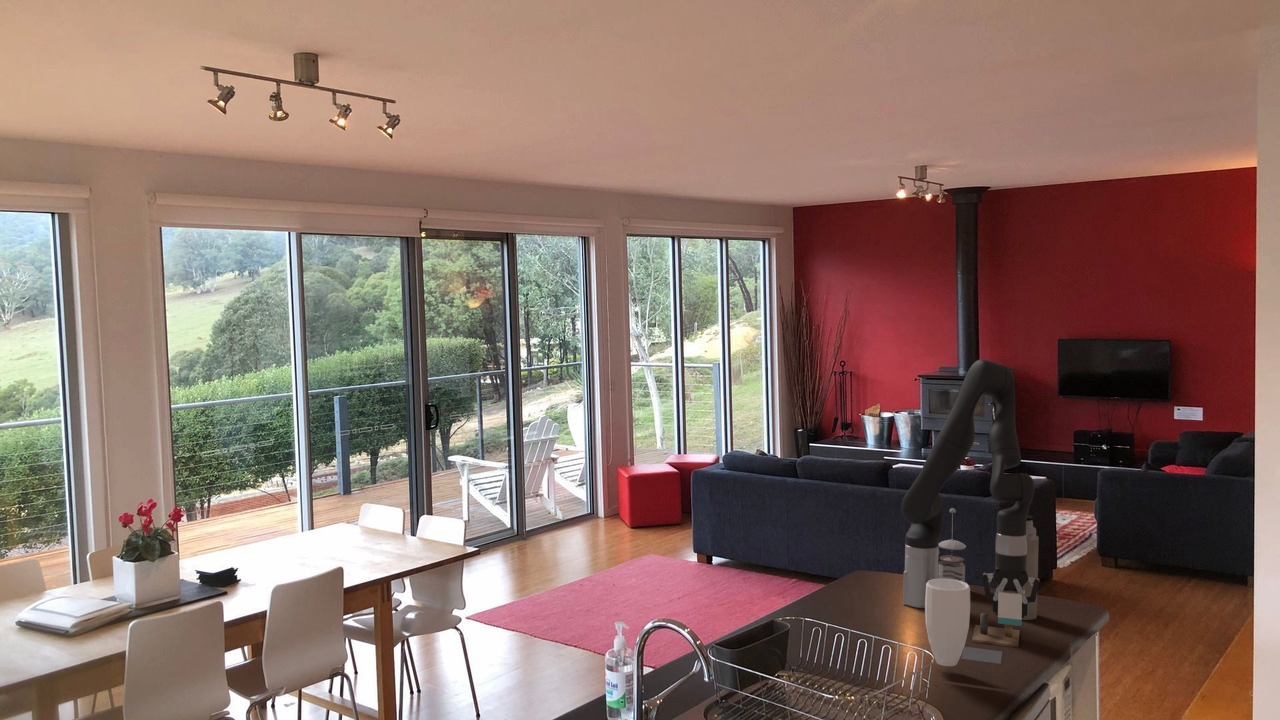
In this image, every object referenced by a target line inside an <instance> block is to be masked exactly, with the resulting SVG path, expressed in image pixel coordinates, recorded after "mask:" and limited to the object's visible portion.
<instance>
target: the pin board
mask: <svg viewBox="0 0 1280 720" xmlns="http://www.w3.org/2000/svg"><path fill="white" fill-rule="evenodd" d="M988 619H989V614H988V613H985V612H983V613H982V612H981V613H980V621H979V624H975V626H974V628H973V633H972V639H971V642H972V643H978V644H979V643H980V644H986V645H992V646H993V645H994V646H995V645H996V646H1002V647H1011V648H1019V643H1020V631H1021V630H1020V629H1014V628H1013V626H1014V625H1008V624H1004V628H1003V627H997V626H989V625H988V624H989V621H988Z"/></svg>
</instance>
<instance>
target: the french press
mask: <svg viewBox="0 0 1280 720" xmlns="http://www.w3.org/2000/svg"><path fill="white" fill-rule="evenodd" d="M949 513H950V514H951V517H952V518H951V539H946V540H943V541H942V540H941V541H940V542H939V548H940V549H941V548H942V549H943V550H944V549H945V550H950V551H961V550H965V549H966V548H967V545H966V544H964V543H963V542H961V541H958V540H955V539H953V535H954V534H953V529H954V527H953V526H954V525H953V524H954V522H953V521H954V514H955V513H957V510H956V509H955V508H953V507H951V508H950V509H949ZM940 549H938V555H940ZM939 560H940V561H939ZM964 562H965V558H963V557H961V556H957V555H952V554H951V555H948V554H947V555H941V556H940V557H938V579H953V580H958V581H962V582H965V583H966V564H965V563H964ZM946 564H948V565H946Z"/></svg>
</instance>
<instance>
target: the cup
mask: <svg viewBox="0 0 1280 720" xmlns="http://www.w3.org/2000/svg"><path fill="white" fill-rule="evenodd" d="M924 614H925V615H924V616H925V617H924V618H925V627H926V631H927V637H928V642H929V646H930V648H931V651H932V655H933V657H934V659H935V662H936V664H937V665H940V666H943V667H954V666H957V664H958V663H959V660H960V658H961V657H962V654H963V650H964V647H966V646H965V645H966V642H967V638H968V637H967V636H968V633H969V628H970V617H971V616H970V615H971V587H970V585H969V584H968V583H967V582H966V581H965V582H962V581H958V580H953V579H933V580H929V581H928V582H927V583H926V595H925V608H924Z"/></svg>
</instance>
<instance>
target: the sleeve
mask: <svg viewBox="0 0 1280 720" xmlns="http://www.w3.org/2000/svg"><path fill="white" fill-rule="evenodd" d="M1022 622H1023V620H1022V594H1021V593H1018V591H1012V590H1004V589H1003V591H1002V592H1000V591H998V615H997V624H1001V625H1005V624H1008V625H1013V626H1017V627H1019V626H1020V627H1022Z"/></svg>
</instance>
